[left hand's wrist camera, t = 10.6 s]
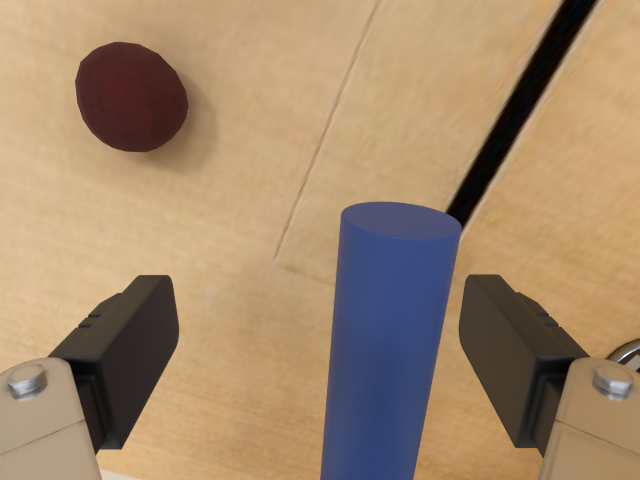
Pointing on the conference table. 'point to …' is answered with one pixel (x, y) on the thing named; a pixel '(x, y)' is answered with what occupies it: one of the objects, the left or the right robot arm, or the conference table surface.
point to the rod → (385, 336)
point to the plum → (130, 97)
